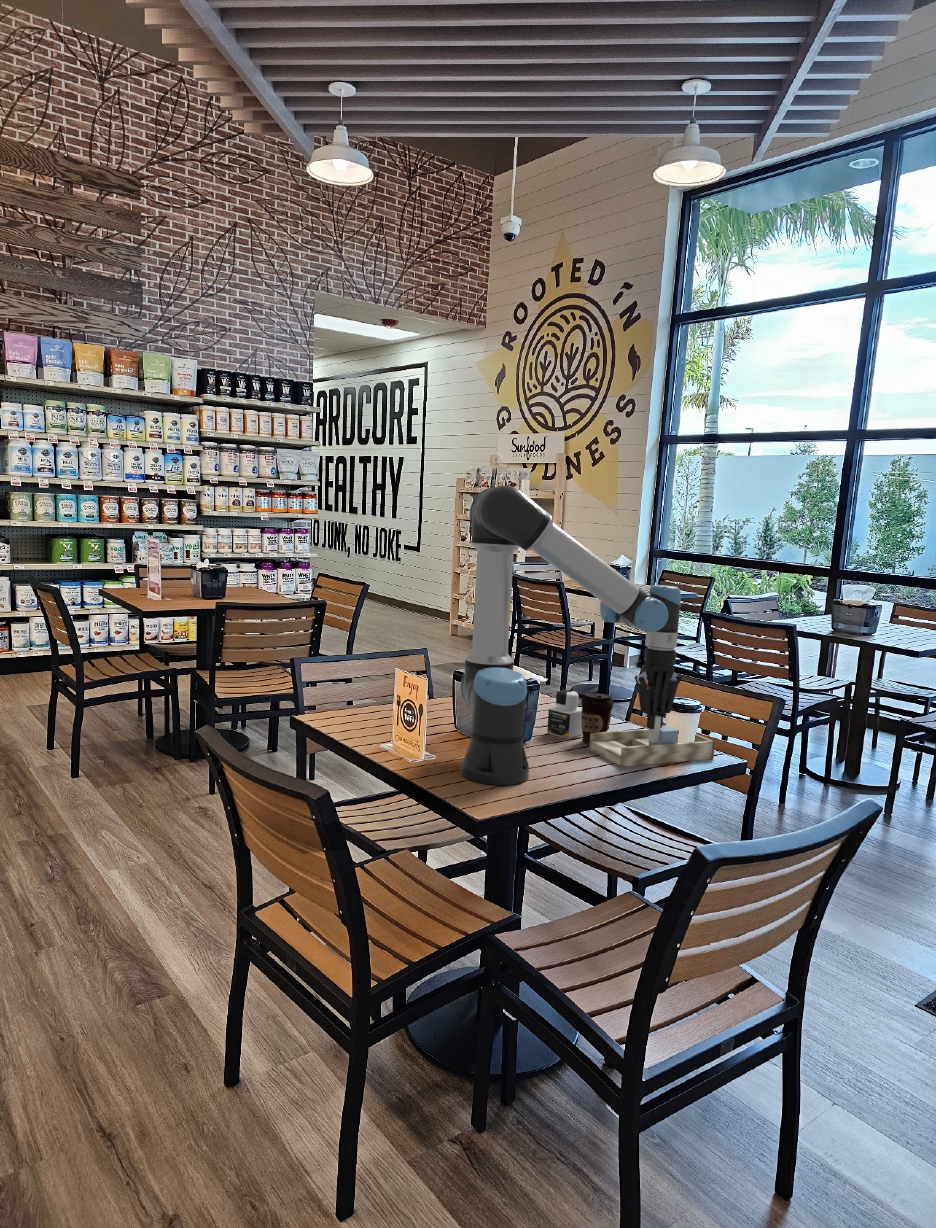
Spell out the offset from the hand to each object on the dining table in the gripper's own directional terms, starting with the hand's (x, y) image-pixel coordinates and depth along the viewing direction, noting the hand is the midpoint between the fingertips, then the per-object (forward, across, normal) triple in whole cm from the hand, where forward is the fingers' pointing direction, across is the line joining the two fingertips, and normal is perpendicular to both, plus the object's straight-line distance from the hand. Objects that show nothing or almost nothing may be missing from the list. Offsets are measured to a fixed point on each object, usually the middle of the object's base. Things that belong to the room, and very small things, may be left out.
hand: (653, 741), depth 198 cm
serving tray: (+5, +2, +3) cm, 6 cm away
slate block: (+2, +3, 0) cm, 4 cm away
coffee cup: (+5, -7, +16) cm, 18 cm away
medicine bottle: (+5, -10, +26) cm, 28 cm away
